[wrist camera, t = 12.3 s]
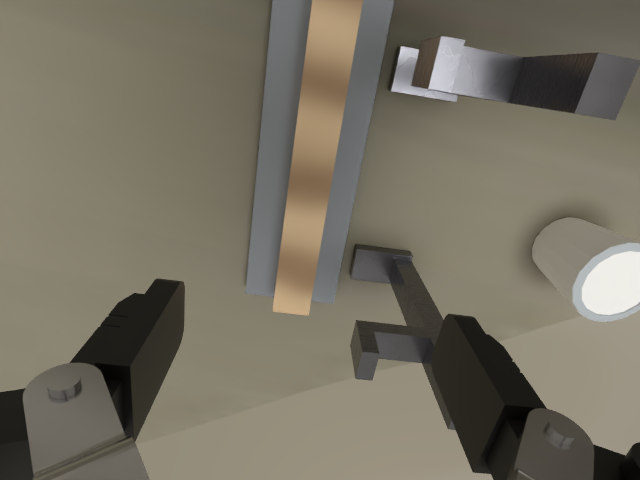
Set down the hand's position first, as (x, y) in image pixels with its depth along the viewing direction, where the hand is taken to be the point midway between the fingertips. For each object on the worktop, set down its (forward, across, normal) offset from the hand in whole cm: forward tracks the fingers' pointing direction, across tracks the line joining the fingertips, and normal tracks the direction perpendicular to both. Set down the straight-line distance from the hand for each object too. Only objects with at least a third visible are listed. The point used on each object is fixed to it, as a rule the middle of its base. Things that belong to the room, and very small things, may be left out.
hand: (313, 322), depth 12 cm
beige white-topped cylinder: (+22, -24, +4) cm, 33 cm away
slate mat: (+22, 0, 0) cm, 22 cm away
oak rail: (+20, 0, 0) cm, 20 cm away
